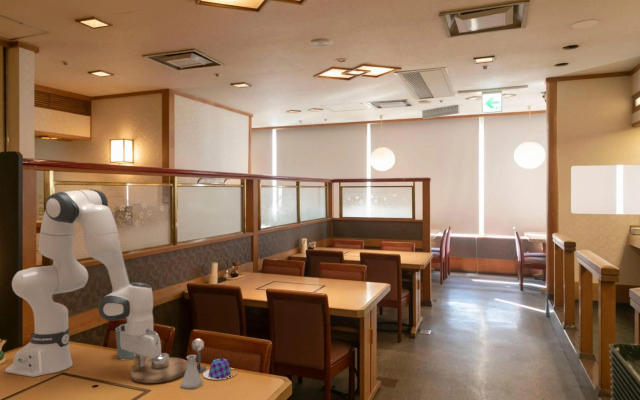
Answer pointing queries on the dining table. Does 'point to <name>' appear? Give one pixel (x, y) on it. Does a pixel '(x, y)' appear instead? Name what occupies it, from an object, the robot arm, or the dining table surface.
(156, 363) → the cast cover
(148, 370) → the turntable
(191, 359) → the flask
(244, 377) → the dining table surface
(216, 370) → the pudding
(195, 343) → the grey knobbed rod
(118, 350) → the grey green cup
